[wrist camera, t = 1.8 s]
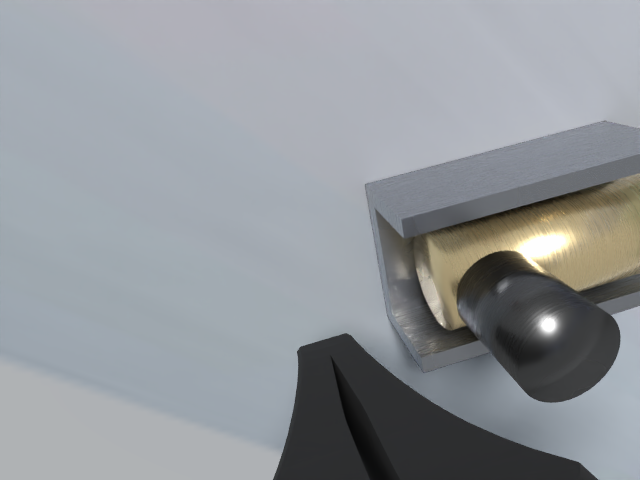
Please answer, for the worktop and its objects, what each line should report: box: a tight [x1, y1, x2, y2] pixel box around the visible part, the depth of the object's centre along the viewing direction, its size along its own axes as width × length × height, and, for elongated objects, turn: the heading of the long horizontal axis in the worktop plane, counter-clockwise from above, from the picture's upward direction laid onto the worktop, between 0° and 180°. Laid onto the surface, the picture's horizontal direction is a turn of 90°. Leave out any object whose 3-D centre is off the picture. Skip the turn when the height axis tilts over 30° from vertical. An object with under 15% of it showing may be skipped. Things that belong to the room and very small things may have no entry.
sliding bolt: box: [414, 173, 640, 403], centre depth 15 cm, size 9×3×6 cm, turn 102°
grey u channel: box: [365, 121, 640, 373], centre depth 17 cm, size 9×5×4 cm, turn 102°
